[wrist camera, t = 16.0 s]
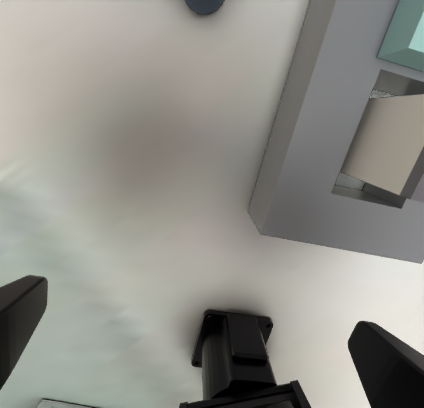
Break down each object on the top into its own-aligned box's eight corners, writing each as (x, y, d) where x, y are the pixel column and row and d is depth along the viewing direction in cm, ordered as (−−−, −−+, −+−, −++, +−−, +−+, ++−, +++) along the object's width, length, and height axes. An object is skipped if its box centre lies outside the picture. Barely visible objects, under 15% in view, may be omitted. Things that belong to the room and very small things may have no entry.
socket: (381, 237, 22) (421, 263, 18) (247, 211, 20) (260, 234, 16) (506, -15, 16) (603, -54, 12) (334, -82, 14) (385, -152, 10)
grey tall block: (384, 113, 18) (540, 114, 10) (359, 172, 19) (478, 215, 11) (339, 101, 18) (465, 90, 9) (317, 162, 19) (410, 199, 11)
